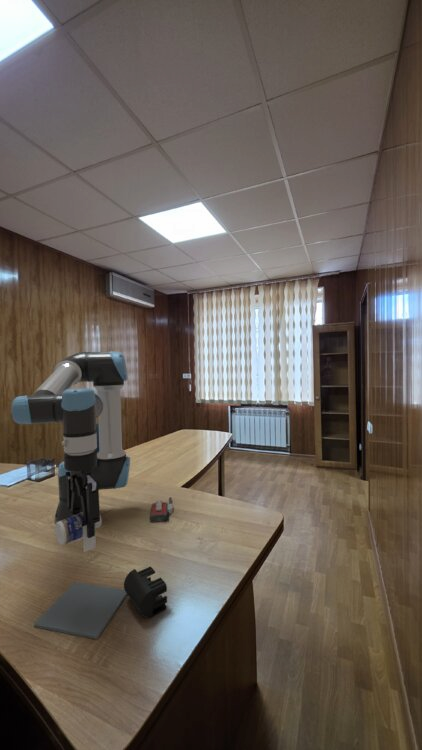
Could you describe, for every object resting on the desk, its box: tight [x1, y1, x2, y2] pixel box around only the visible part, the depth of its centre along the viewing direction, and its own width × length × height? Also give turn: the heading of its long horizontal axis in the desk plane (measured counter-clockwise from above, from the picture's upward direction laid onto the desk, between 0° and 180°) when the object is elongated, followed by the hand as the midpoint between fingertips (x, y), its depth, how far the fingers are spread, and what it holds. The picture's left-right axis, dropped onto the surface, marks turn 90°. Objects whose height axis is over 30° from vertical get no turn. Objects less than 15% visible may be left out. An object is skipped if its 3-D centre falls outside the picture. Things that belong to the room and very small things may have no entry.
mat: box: [33, 581, 128, 640], centre depth 75 cm, size 16×14×1 cm
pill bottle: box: [54, 513, 102, 546], centre depth 76 cm, size 5×5×10 cm
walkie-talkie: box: [149, 497, 174, 524], centre depth 125 cm, size 9×4×20 cm
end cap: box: [123, 566, 168, 619], centre depth 76 cm, size 10×7×7 cm
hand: (84, 544), depth 77 cm, fingers closed on pill bottle, 5 cm apart
